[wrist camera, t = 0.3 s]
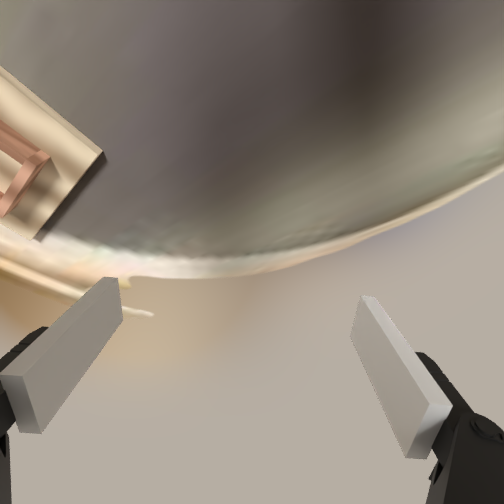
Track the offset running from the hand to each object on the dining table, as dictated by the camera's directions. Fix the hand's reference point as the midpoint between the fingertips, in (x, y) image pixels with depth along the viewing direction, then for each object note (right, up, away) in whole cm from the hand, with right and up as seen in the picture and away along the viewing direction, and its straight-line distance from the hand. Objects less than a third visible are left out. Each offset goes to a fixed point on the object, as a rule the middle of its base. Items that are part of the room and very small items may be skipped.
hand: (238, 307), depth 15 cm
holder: (-34, +17, +23) cm, 44 cm away
